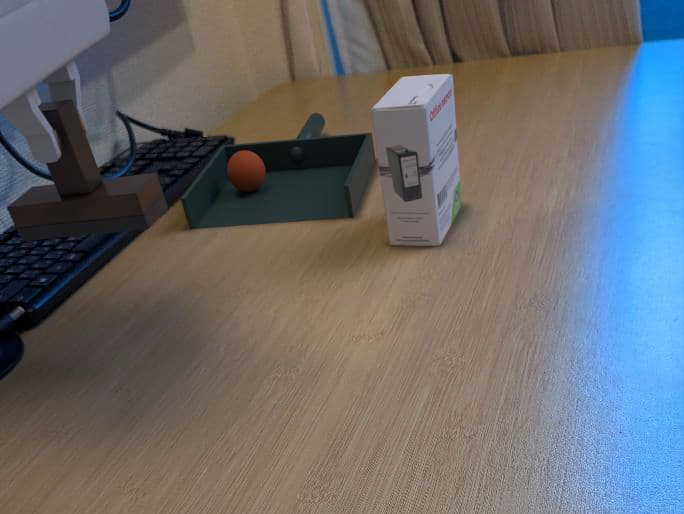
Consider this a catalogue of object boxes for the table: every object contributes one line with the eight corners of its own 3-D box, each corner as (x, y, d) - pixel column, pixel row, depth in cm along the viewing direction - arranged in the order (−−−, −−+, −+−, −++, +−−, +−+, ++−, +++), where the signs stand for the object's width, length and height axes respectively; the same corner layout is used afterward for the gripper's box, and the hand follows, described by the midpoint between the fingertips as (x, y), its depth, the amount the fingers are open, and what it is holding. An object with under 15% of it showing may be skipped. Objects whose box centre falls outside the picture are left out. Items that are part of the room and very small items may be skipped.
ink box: (414, 207, 80) (399, 73, 72) (464, 207, 78) (454, 70, 70) (387, 246, 74) (368, 106, 66) (440, 247, 73) (426, 104, 65)
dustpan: (353, 218, 80) (348, 185, 78) (189, 229, 83) (180, 198, 81) (389, 128, 98) (386, 99, 96) (253, 140, 101) (247, 112, 98)
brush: (22, 241, 60) (-33, 123, 54) (46, 220, 63) (-3, 106, 57) (149, 229, 58) (105, 105, 52) (168, 207, 61) (128, 88, 55)
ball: (276, 162, 88) (267, 200, 88) (245, 154, 89) (236, 192, 90) (256, 148, 84) (247, 188, 85) (224, 141, 85) (215, 180, 86)
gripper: (1, -119, 55) (82, 104, 65) (-193, -64, 41) (-52, 213, 50) (87, -132, 54) (157, 96, 63) (-80, -81, 40) (42, 205, 49)
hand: (64, 149), depth 57 cm, fingers closed on brush, 2 cm apart
